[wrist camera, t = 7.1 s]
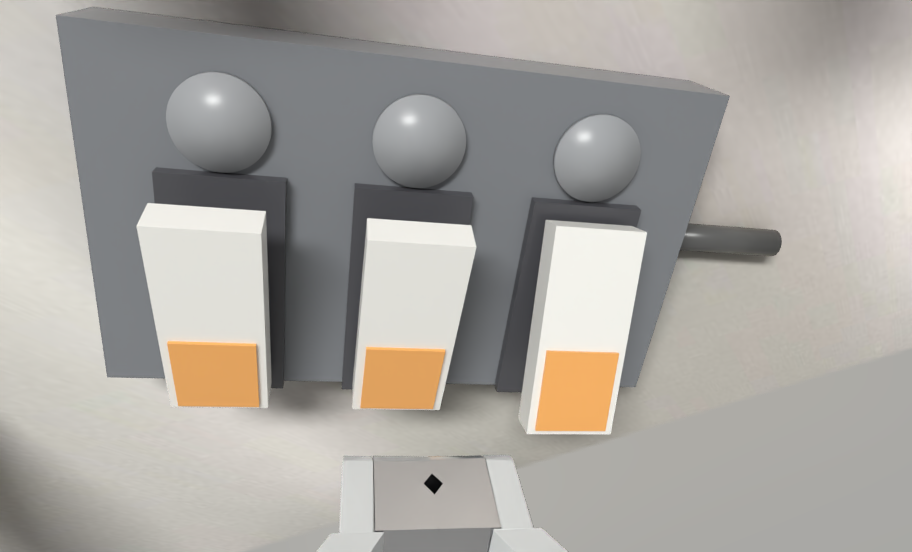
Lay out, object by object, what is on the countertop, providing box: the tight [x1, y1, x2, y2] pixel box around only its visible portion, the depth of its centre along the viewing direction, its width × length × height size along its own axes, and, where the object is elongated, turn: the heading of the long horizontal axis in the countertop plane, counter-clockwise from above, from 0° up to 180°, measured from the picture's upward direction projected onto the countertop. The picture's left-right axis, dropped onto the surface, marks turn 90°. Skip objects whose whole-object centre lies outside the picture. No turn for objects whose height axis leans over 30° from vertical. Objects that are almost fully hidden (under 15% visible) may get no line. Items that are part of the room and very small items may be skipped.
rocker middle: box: [352, 218, 476, 410], centre depth 22 cm, size 3×8×1 cm, turn 172°
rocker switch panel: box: [56, 7, 782, 392], centre depth 24 cm, size 28×13×4 cm, turn 82°
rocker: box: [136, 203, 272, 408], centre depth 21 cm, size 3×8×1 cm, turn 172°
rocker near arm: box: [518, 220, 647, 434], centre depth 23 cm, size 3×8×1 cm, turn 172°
